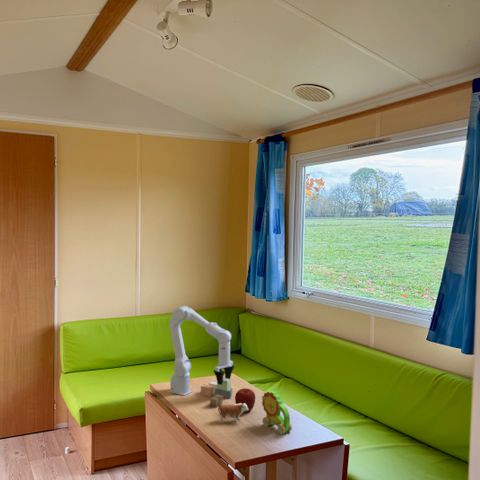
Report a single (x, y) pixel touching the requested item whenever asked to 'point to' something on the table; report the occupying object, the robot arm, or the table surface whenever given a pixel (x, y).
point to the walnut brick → (216, 401)
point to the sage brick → (225, 384)
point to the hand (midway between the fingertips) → (223, 382)
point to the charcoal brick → (224, 393)
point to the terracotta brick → (207, 389)
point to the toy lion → (275, 412)
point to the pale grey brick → (213, 385)
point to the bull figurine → (232, 410)
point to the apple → (245, 398)
